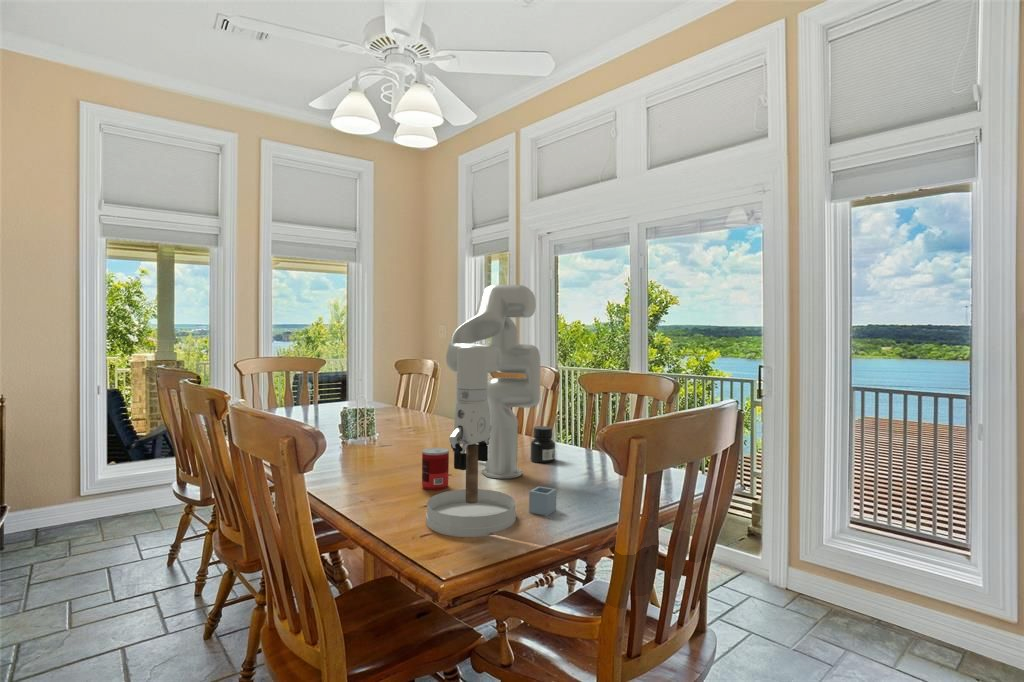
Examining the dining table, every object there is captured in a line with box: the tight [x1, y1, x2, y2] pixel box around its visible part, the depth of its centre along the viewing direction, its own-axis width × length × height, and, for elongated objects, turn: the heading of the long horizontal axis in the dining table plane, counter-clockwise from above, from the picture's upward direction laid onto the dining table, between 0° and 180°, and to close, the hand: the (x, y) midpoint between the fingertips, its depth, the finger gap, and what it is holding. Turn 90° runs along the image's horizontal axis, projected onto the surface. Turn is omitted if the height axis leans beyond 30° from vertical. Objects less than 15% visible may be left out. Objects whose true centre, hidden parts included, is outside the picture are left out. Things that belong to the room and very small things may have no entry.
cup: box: [528, 486, 557, 517], centre depth 141 cm, size 5×5×6 cm
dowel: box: [465, 443, 479, 504], centre depth 135 cm, size 3×3×14 cm
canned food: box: [421, 447, 450, 491], centre depth 164 cm, size 8×8×11 cm
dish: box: [425, 488, 517, 538], centre depth 135 cm, size 22×22×5 cm
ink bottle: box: [529, 425, 556, 464], centre depth 198 cm, size 10×9×12 cm
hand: (471, 464), depth 135 cm, fingers open, 9 cm apart
